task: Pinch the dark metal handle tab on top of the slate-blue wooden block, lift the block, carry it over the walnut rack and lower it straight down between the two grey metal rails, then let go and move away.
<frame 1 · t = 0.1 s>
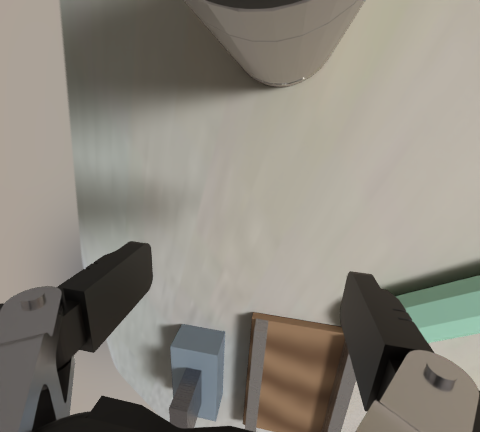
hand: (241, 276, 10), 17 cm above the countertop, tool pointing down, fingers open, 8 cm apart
mint green cylinder: (474, 282, 27), on the countertop
cabinet block: (203, 359, 37), on the countertop
rack: (295, 379, 35), on the countertop
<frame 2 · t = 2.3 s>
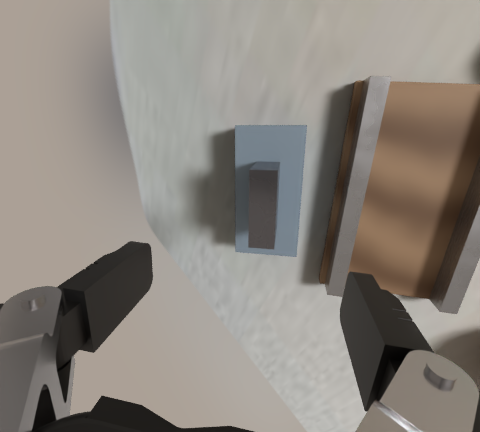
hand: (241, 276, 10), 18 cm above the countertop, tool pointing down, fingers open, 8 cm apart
cabinet block: (270, 186, 27), on the countertop
rack: (403, 199, 25), on the countertop
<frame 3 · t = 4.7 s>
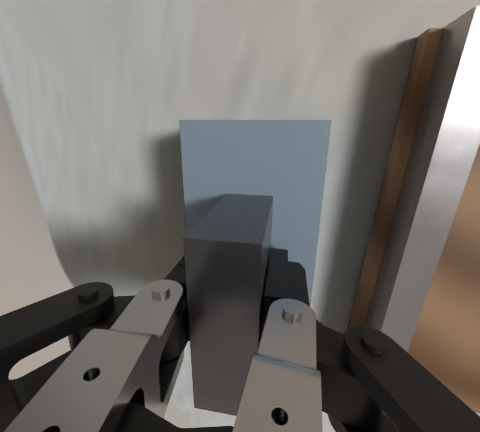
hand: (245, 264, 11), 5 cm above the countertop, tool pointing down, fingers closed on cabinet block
cabinet block: (257, 227, 16), on the countertop, touching gripper
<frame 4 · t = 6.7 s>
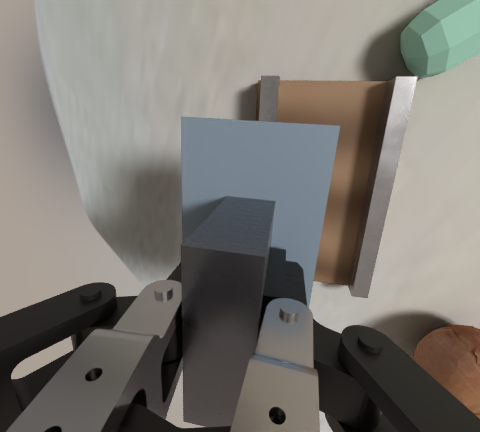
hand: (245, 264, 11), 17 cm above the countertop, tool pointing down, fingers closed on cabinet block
cabinet block: (256, 231, 15), point 13 cm above the countertop, touching gripper
rack: (315, 190, 27), on the countertop
onion: (442, 337, 29), on the countertop
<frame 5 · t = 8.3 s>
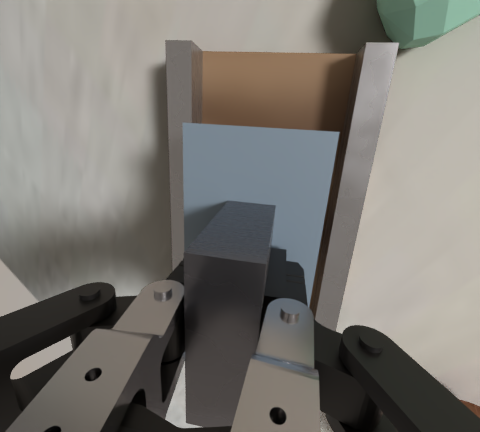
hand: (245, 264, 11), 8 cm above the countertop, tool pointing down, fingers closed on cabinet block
cabinet block: (257, 233, 15), point 4 cm above the countertop, touching gripper
rack: (263, 209, 19), on the countertop
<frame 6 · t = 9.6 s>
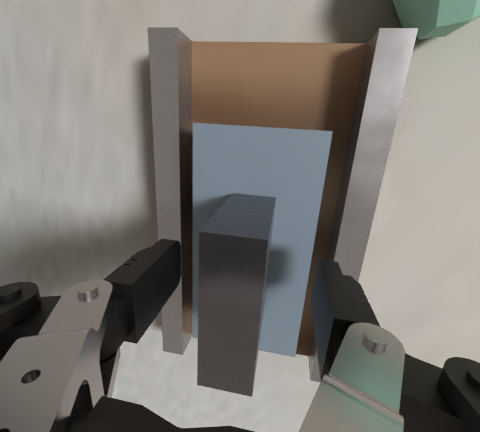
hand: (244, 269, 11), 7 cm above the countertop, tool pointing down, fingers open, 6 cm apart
cabinet block: (258, 225, 17), point 1 cm above the countertop, touching rack
rack: (260, 217, 18), on the countertop
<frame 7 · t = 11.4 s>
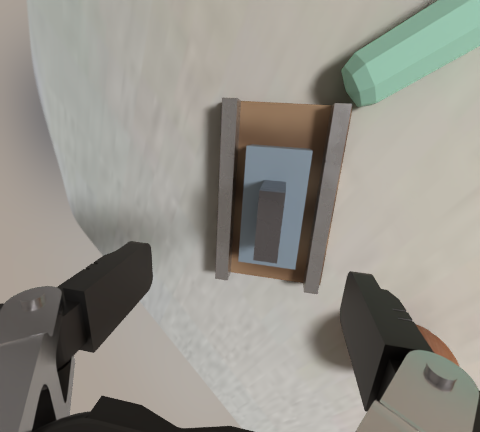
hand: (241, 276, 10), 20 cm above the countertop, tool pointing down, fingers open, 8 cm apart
mint green cylinder: (479, 11, 22), on the countertop
cabinet block: (274, 201, 29), point 1 cm above the countertop, touching rack
rack: (275, 197, 30), on the countertop
onion: (388, 332, 33), on the countertop
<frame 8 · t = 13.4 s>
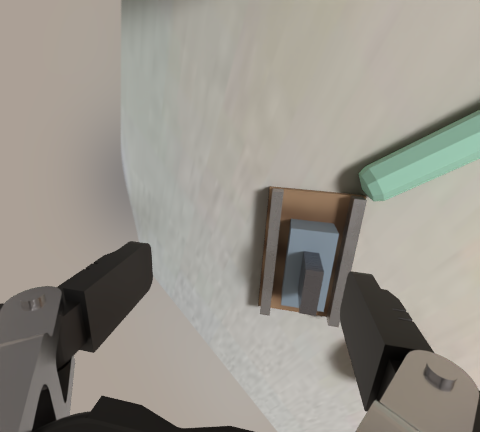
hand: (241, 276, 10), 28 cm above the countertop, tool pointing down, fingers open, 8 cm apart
mint green cylinder: (456, 137, 32), on the countertop
cabinet block: (306, 258, 39), point 1 cm above the countertop, touching rack
rack: (306, 254, 40), on the countertop
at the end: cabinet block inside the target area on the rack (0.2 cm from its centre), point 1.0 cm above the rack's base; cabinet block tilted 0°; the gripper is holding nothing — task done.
